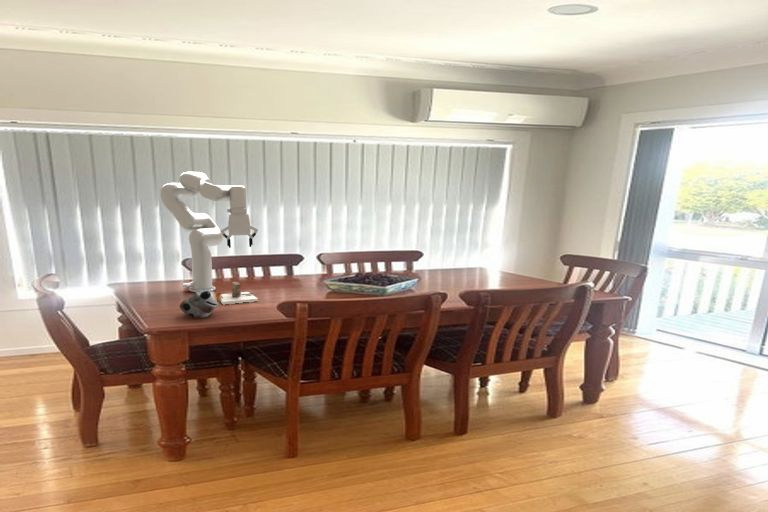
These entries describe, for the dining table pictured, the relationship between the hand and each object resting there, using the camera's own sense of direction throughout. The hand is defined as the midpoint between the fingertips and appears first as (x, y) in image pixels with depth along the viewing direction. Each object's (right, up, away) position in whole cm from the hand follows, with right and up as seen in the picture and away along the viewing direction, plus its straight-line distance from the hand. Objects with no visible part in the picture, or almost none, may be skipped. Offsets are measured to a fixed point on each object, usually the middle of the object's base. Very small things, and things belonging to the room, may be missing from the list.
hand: (240, 247), depth 246 cm
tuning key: (+2, -23, -2) cm, 23 cm away
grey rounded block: (-7, -29, -32) cm, 44 cm away
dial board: (-1, -25, -3) cm, 25 cm away
